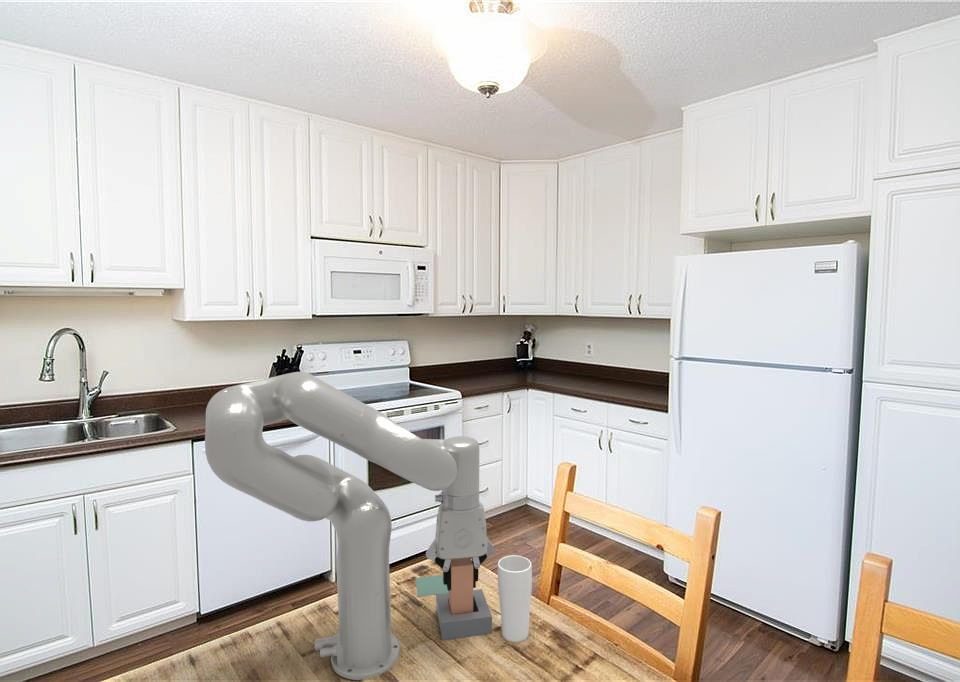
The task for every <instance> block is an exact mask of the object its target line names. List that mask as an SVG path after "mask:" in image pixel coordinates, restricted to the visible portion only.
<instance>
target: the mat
mask: <svg viewBox="0 0 960 682" xmlns="http://www.w3.org/2000/svg"><path fill="white" fill-rule="evenodd" d="M415 587H416V593H417V594H416V595H417V597H418V598H419V597H429V596H436V595H438V594H446V593H449V591H448V589H447V585H444V583H443V574H438V575H430V576H429V575H428V576H420V577H415Z"/></svg>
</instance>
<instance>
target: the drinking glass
mask: <svg viewBox="0 0 960 682" xmlns="http://www.w3.org/2000/svg"><path fill="white" fill-rule="evenodd" d="M532 565H533V564H532V562H531V561H530V559H529V558H527V557H524V556H523V555H522V556H521V555H517V554H516V555H515V554H514V555H506V556H503V557H502V558H500V559H499V560H498V563H497V589H498V590H497V591H498V599H499V610H500V622H501V634H502V638H503V639H505V640H506V641H508V642H511V643H512V642H513V643H520V642H523V641H525V640H527V638H528V637H529V634H530V629H529V628H530V627H529V625H530V613H531V612H530V610H531V600H532V588H533V567H532Z"/></svg>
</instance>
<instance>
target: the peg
mask: <svg viewBox="0 0 960 682" xmlns="http://www.w3.org/2000/svg"><path fill="white" fill-rule="evenodd" d="M450 570H451V590H450V591H449V606H450V610H451V615H456V614H463V613H471V612H473V590H474V588H473V563H472V557H471V558H461V559H451V562H450Z"/></svg>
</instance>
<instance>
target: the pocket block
mask: <svg viewBox="0 0 960 682" xmlns="http://www.w3.org/2000/svg"><path fill="white" fill-rule="evenodd" d="M435 602H436V603H435V607H436V617H437V621H438V625H439V631H440V637H441V641H447V640H454V639H463V638H470V637H477V636H482V635H483V636H484V635H491V634H493V615H492V613H491V610H490V608H489V605H488V602H487V599H486V596H485V594H484V591H483V589H482V588H481V589H479V588H478V589H473V612H471V613H463V614H456V615H451V610H450V606H449V593H445V594H437V595H435Z"/></svg>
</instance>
